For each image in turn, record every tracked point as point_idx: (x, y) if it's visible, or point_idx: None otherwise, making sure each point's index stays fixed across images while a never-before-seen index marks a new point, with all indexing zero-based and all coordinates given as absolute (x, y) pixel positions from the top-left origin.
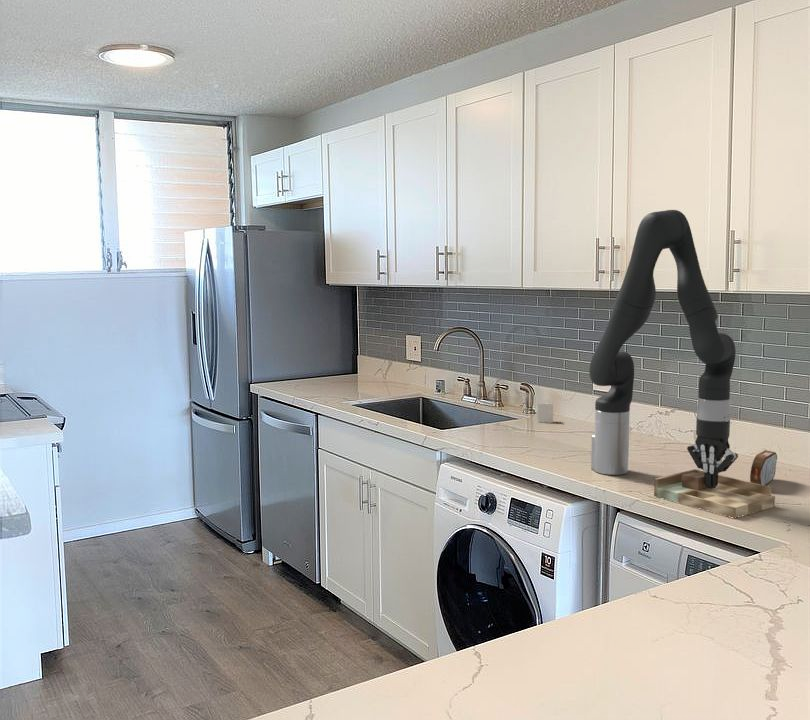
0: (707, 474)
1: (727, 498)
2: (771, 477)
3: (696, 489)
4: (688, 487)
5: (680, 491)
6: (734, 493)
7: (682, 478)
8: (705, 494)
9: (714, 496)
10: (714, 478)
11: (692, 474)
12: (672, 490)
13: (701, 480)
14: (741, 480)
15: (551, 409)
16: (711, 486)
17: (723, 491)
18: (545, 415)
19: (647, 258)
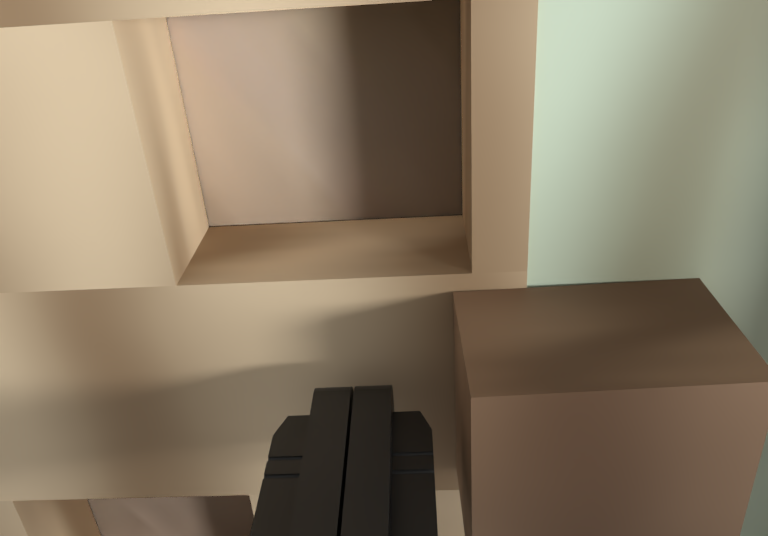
0: (355, 519)
1: (16, 297)
2: None
3: (469, 293)
4: (597, 289)
5: (580, 79)
6: (154, 487)
7: (743, 347)
8: (320, 269)
9: (146, 244)
10: (257, 506)
11: (663, 494)
12: (696, 17)
13: (465, 434)
14: None
15: None
16: (313, 410)
17: (264, 465)
18: None
19: None
